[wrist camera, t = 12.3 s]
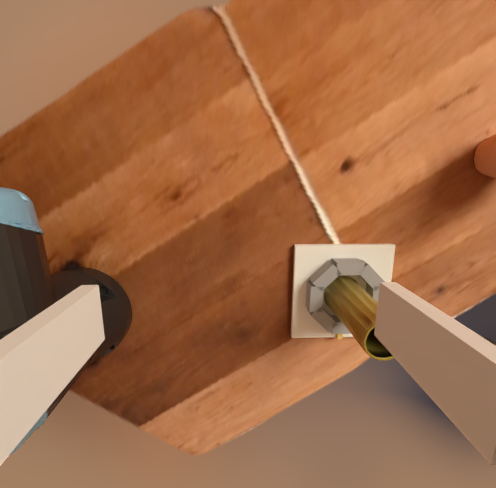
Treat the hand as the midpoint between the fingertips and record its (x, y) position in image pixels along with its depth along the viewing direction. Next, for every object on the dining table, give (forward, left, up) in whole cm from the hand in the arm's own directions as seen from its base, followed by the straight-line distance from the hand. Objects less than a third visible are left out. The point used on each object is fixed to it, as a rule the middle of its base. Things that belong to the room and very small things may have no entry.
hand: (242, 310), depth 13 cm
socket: (+17, -12, -32) cm, 38 cm away
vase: (+17, -12, -31) cm, 37 cm away
